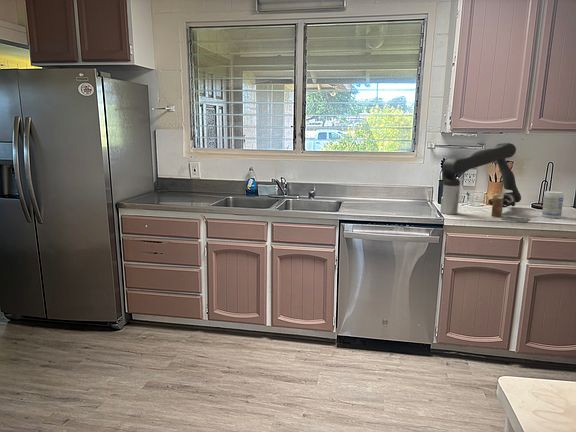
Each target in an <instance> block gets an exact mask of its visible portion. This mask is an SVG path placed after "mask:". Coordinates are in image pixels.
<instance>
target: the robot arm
mask: <svg viewBox="0 0 576 432" xmlns="http://www.w3.org/2000/svg"><path fill="white" fill-rule="evenodd" d="M516 152H517V147H516V145H515V144H513V143H511V142H506V143H505V142H504V143H498V144H496V145H495V146H494V148H486V149H485V148H484V149H482V150H477V151H475V152H472V153H471V154H470V155H469V156H468V157H464V158H453V157H451V158H449V157H448V158H446V159H445V160H444V162H443V164H442V182H443V185H442V187H443V189H442V197H440V198H441V199H440V211H439V212H440V213H442V214H446V215H457V214H458V212H459V211H458V210H459V201H460V189H461V187H460V185H461V181H460V180H459V179H458V178H457V177H456V175H459V174H462V173H464V172H467V171H468V170H471V169H475V168H479V167H483V166H486V165H489V164H491V163H493V162H497V166H498V168H499V171H500V174H501V179H502V185H503V188H504V190H507V191H510V192H504V193H502V194H503V195H504V198H503V208H508V207H515V206H516V204H517V203H519V202H521V200H522V195H521V193H520V191H519V189H518V187H517V184H516V177H515V175H514V172H513V171H512V170H511V168H510V166H509V165H508V163H507V160H506V159H509V158H512V157H513V156H514V155H516ZM487 203H488V205H490V206H492V205H493V198H490V199H488V202H487ZM503 208H502V209H503Z"/></svg>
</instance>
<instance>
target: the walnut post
mask: <svg viewBox="0 0 576 432" xmlns="http://www.w3.org/2000/svg"><path fill="white" fill-rule="evenodd" d="M503 194H504V193H494V194H493V197H492V199H493V205H491V216H493V217H492V218H502V216H503V198H504V195H503Z"/></svg>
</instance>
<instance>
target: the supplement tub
mask: <svg viewBox="0 0 576 432" xmlns="http://www.w3.org/2000/svg"><path fill="white" fill-rule="evenodd" d="M564 193H565V192H562V191H554V190H546V191H544V195H543V202H542V211H541V213H542V214H541V216H542V217H544V218H547V219H548V218H549V219H559V218H562V212H563V203H564V197H565V196H564Z"/></svg>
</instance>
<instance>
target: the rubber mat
mask: <svg viewBox="0 0 576 432" xmlns="http://www.w3.org/2000/svg"><path fill="white" fill-rule="evenodd" d="M501 220H502V221H508V222H509V221H511V222H516V223H518V222H519V223H528V222H529V221H530V220H531V218H528V217H527V218H525V217H518V216H509V215H507V216H505V217H503V218H502V219H501Z"/></svg>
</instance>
